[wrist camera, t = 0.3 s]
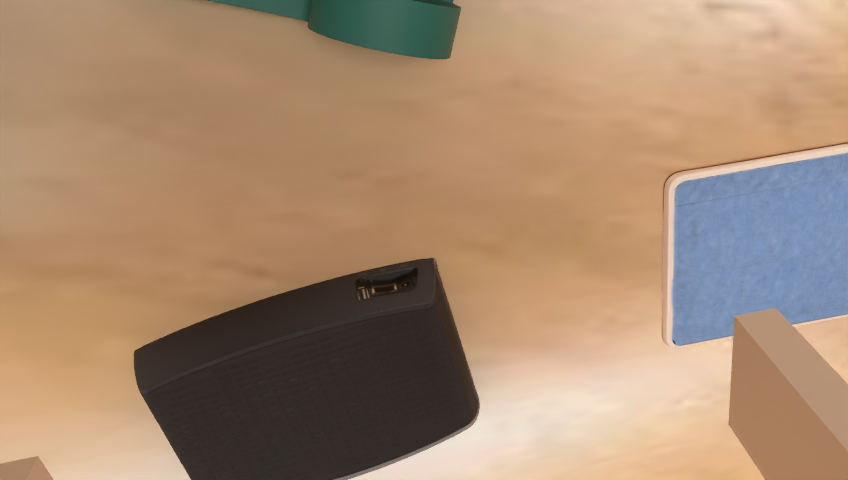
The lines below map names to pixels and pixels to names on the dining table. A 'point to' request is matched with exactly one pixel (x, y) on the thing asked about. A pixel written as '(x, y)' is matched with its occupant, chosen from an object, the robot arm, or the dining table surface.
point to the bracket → (374, 22)
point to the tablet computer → (755, 243)
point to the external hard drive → (314, 380)
